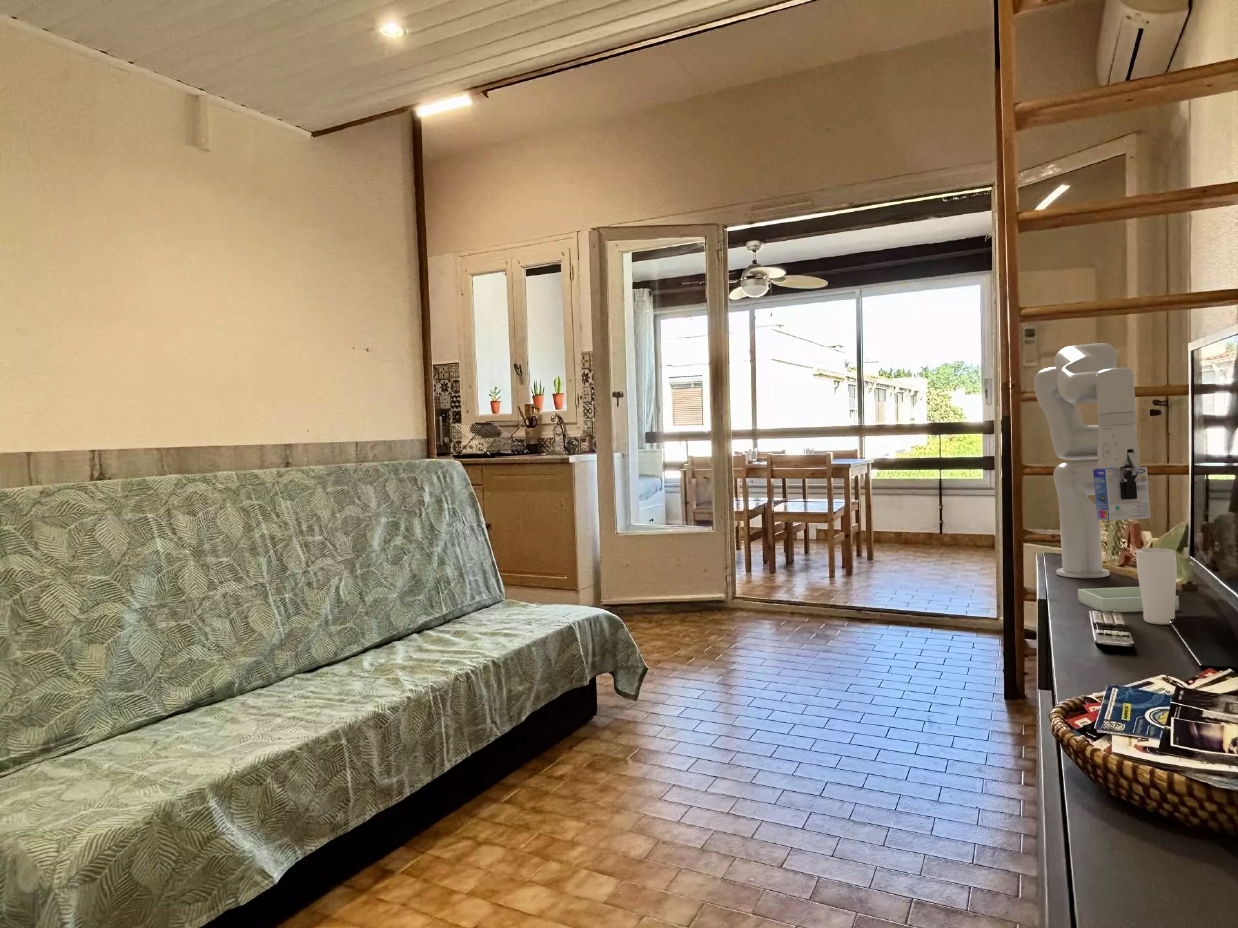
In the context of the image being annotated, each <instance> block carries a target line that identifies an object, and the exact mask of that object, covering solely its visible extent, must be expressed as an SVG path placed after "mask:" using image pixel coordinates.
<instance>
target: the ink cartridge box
mask: <svg viewBox="0 0 1238 928" xmlns="http://www.w3.org/2000/svg"><path fill="white" fill-rule="evenodd" d="M1123 468H1130V467H1123ZM1125 474H1127V472H1125ZM1148 474H1149V473H1148V466H1145V465H1143V466H1142V465H1140V469H1139V471H1138V475H1137V481H1136V486H1137V499H1127V500H1123V499H1121V489H1120V482H1122V479H1121V475H1120V469H1119V470H1114V469H1113V468H1101V469H1093V475H1094V486H1095V505H1096V509H1097V519H1099V520H1100V521H1106V522H1107V521H1108V522H1109V521H1121V520H1122V521H1123V520H1124V521H1126V520H1138V519H1139V520H1141V519H1142V520H1143V519H1151V505H1150V504H1151V502H1150V490H1149V479H1148V478H1149V477H1148Z"/></svg>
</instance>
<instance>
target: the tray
mask: <svg viewBox="0 0 1238 928" xmlns="http://www.w3.org/2000/svg"><path fill="white" fill-rule="evenodd" d="M1077 596H1078V597H1077V598H1078V599H1077V600H1078V603H1081V604H1083V605H1085V606H1088V607H1090V608H1092V609H1094V610H1097V611H1098V610H1102V611H1113V612H1112V613H1127V612H1143V606H1142V599H1141V592H1140V586H1124V587H1101V588H1077ZM1179 610H1180V602H1179V595H1175V611H1179Z"/></svg>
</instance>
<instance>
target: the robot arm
mask: <svg viewBox="0 0 1238 928" xmlns="http://www.w3.org/2000/svg"><path fill="white" fill-rule="evenodd" d="M1118 358H1119V357H1118V352H1117V351H1116V349H1115V347H1114V346H1113V345H1111V344H1110V343H1106V342H1099V343H1087V344H1086V343H1085V344H1075V345H1069V346H1065V347H1064V348H1062V349H1060V350H1059V351H1057V353H1056V355H1055V356H1054V360H1053V361H1054V362H1053V363H1054V366H1051V367H1047V368H1043V369H1041V370H1039V371H1038V372H1037V373H1036V374H1035V376H1034V381H1033V387H1034V388H1033V389H1034V393H1035V394H1034V395H1035V398H1036V400H1037V403H1038V404H1039V405H1040V408H1041V410H1042V411H1043V413H1044V415H1045V417H1046V419H1047V423H1048V429H1049V432H1050V439H1051V442H1052V447H1053V450H1054V452H1055V456H1056V457H1058V458H1059V459H1060V460H1063V461H1064V460H1065V461H1064V462H1061V463H1060V464H1058V465H1056V467H1055V468H1054V471H1053V482H1054V486H1055V487H1054V488H1055V491H1056V495H1057V501H1058V508H1059V509H1058V513H1059V527H1060V546H1061V565H1062V567H1060V568H1057V569H1056V575H1058V576H1061V577H1065V578H1074V579H1101V578H1106V577H1109V576H1110V570H1108V569H1106V568H1103V553H1102V552H1103V551H1102V536H1101V535H1102V533H1101V531H1102V530H1101V520H1099V519H1097V509H1096V503H1095V502H1093V501H1092V499H1089V496H1093V495H1095V486H1094V475H1093V469H1101V468H1113V469H1114V470H1119V469H1120V475H1121V479H1122V482H1120V489H1121V499H1123V500H1127V499H1137V486H1136V481H1137V475H1138V471H1139V469H1140V466H1141V465H1140V446H1139V441H1138V434H1137V429H1136V427H1137V426H1138V425H1137V411H1136V392H1135V378H1134V377H1135V376H1134V372H1133V369H1131V368H1129V367H1117V366H1118V361H1119V359H1118ZM1090 403H1091V404H1092V403H1096V408H1097V410H1096V411H1097V424H1088V425H1087V424H1086V423H1084V421H1083V420H1084V419H1083V415H1082V412H1081V410H1080V408H1078V407H1077V406H1076V405H1075V404H1078V405H1080V404H1090ZM1123 467H1130V468H1123ZM1125 472H1127V474H1125Z"/></svg>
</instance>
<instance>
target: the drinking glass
mask: <svg viewBox="0 0 1238 928" xmlns="http://www.w3.org/2000/svg"><path fill="white" fill-rule="evenodd" d="M1135 555H1136V569H1137V571H1136V572H1137V577H1138V578H1137V579H1138V585H1139V586H1138V587H1140V592H1141V599H1142V606H1143V611H1142V614H1143V615H1142V616H1143V621H1144V622H1146V623H1149V624H1152V625H1161V626H1163V625H1171V624H1170V619H1174V618H1175V619H1176V610H1175V595H1176V594H1177V593H1176V591H1177V577H1178V576H1177V572H1178V568H1177V556H1176V555H1177V554H1176V550H1174V549H1172V548H1171V549H1170V548H1163V547H1162V548H1161V547H1157V548H1156V547H1155V548H1154V547H1149V548H1148V547H1147V548H1145V547H1144V548H1138V549H1137V550H1136V554H1135ZM1176 596H1177V595H1176Z"/></svg>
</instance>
